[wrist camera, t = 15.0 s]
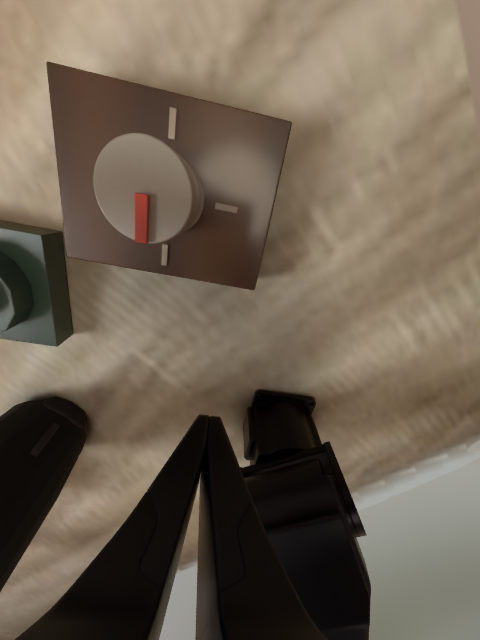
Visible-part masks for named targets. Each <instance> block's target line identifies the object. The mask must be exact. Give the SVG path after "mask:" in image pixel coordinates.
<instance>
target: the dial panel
mask: <svg viewBox="0 0 480 640" xmlns="http://www.w3.org/2000/svg"><path fill="white" fill-rule="evenodd" d="M47 73H48V82H49V92H50V101H51V110H52V120H53V129H54V139H55V148H56V158H57V167H58V176H59V186H60V195H61V205H62V214H63V224H64V233H65V242H66V252H67V257H69V258H75V259H81V260H86V261H92V262H98V263H103V264H109V265H114V266H120V267H126V268H131V269H137V270H143V271H148V272H154V273H159V274H165V275H171V276H176V277H182V278H188V279H193V280H199V281H205V282H210V283H216V284H221V285H227V286H233V287H238V288H244V289H250V290H255V286H256V282H257V277H258V273H259V268H260V264H261V260H262V255H263V251H264V246H265V242H266V237H267V233H268V228H269V224H270V219H271V215H272V210H273V206H274V202H275V197H276V193H277V188H278V184H279V179H280V175H281V170H282V166H283V161H284V157H285V153H286V148H287V144H288V139H289V135H290V130H291V126H292V122H291V121H286V120H282V119H278V118H274V117H270V116H266V115H262V114H258V113H254V112H250V111H246V110H242V109H238V108H234V107H230V106H226V105H222V104H218V103H214V102H210V101H205V100H201V99H197V98H193V97H189V96H185V95H181V94H177V93H173V92H169V91H165V90H161V89H157V88H153V87H149V86H145V85H141V84H137V83H133V82H128V81H124V80H120V79H116V78H112V77H108V76H104V75H100V74H96V73H92V72H88V71H84V70H80V69H76V68H72V67H68V66H64V65H60V64H56V63H51V62H47ZM129 133H142V134H147V135H150V136H153V137H155V138H157V139H159V140H161V141H163V142H164V143H166V144H167V145H168V146H169V147H171V148H172V149H173V150H174V151H175V152H176V153H177V154H179V155H180V156H181V157H182V158H183V159H184V160H185V161H187V162H188V163H189V164H190V165H191V166H192V167H193V169H194V170H195V171H196V173H197V174H198V176H199V178H200V180H201V183H202V186H203V191H204V206H203V210H202V213H201V215H200V218H199V219H198V221H197V222H196V223H195V224H194V225H193V226H192V227H191V228H190V229H188V230H186V231H185V232H183V233H181V234H179V235H177V236H175V237H173V238H171V239H169V240H167V241H164V242H160V243H147V244H144V243H139V242H135V240H133V239H130V238H129V237H127V236H125V235H123V234H122V233H120V232H119V231H118V230H117V229H116V228H115V227H114V226H113V225H112V224H111V223H110V222H109V221H108V220H107V218H106V217H105V215H104V214H103V212H102V210H101V208H100V206H99V204H98V202H97V199H96V195H95V191H94V184H93V175H94V168H95V164H96V161H97V158H98V156H99V154H100V153H101V151H102V149H103V148H104V147H105V146H106V145H107V144H108V143H109V142H110V141H111V140H113V139H115V138H116V137H118V136H121V135H124V134H129Z"/></svg>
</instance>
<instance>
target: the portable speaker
mask: <svg viewBox="0 0 480 640" xmlns="http://www.w3.org/2000/svg"><path fill="white" fill-rule="evenodd" d="M86 420H87V418H86V415H85V412H84V411H83V410H81V409H80V408H79V407H77V406H76V405H74V404H73V403H72V402H70V401H67V400H64V399H61V398H58V397H54V398H51V399H48V400H45V401H27V402H24V403H21V404H18V405H15V406H14V407H12V408H11V409H10V410H8V411H7V412H6V413H4V414H3V415H2V416H0V592H1V590H2V588H3V587H4V585H5V583H6V582H7V580H8V578H9V577H10V575H11V574H12V572H13V570H14V569H15V567H16V565H17V564H18V562H19V560H20V559H21V557H22V556H23V554H24V552H25V551H26V549H27V547H28V546H29V544H30V542H31V541H32V539H33V538H34V536H35V534H36V533H37V531H38V529H39V528H40V526H41V524H42V523H43V521H44V519H45V518H46V516H47V515H48V513H49V511H50V510H51V508H52V506H53V505H54V503H55V501H56V500H57V498H58V496H59V494H60V492H61V490H62V488H63V486H64V484H65V482H66V480H67V479H68V477H69V475H70V473H71V471H72V469H73V467H74V465H75V463H76V461H77V459H78V457H79V455H80V453H81V451H82V449H83V447H84V444H85V440H86V430H85V426H86Z"/></svg>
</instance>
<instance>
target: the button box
mask: <svg viewBox="0 0 480 640" xmlns="http://www.w3.org/2000/svg"><path fill="white" fill-rule="evenodd" d="M71 335H73V330H72V321H71V312H70V303H69V294H68V285H67V276H66V266H65V257H64V248H63V239H62V232H60V231H54V230H49V229H44V228H38V227H33V226H28V225H22V224H17V223H12V222H6V221H1V220H0V338H1V339H8V340H15V341H22V342H29V343H36V344H43V345H50V346H59V345H60V344H61V343H62V342H64V341H65V340H66V339H68V338H69V337H70V336H71Z"/></svg>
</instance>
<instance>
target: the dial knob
mask: <svg viewBox="0 0 480 640" xmlns="http://www.w3.org/2000/svg"><path fill="white" fill-rule="evenodd" d="M93 184H94V191H95V195H96V199H97V202H98V204H99V206H100V208H101V210H102V212H103V214H104V215H105V217H106V218H107V220H108V221H109V222H110V223H111V224H112V225H113V226H114V227H115V228H116V229H117V230H118V231H119V232H120V233H122V234H123V235H125V236H127V237H129V238H130V239H133V240H135V242H139V243H144V244H147V243H160V242H164V241H167V240H169V239H171V238H173V237H175V236H177V235H179V234H181V233H183V232H185V231H186V230H188V229H190V228H191V227H192V226H193V225H194V224H195V223H196V222H197V221H198V219H199V218H200V215H201V213H202V210H203V206H204V191H203V186H202V183H201V180H200V178H199V176H198V174H197V173H196V171H195V170H194V169H193V167H192V166H191V165H190V164H189V163H188V162H187V161H185V160H184V159H183V158H182V157H181V156H180V155H179V154H177V153H176V152H175V151H174V150H173V149H172V148H171V147H169V146H168V145H167V144H166V143H164V142H163V141H161V140H159V139H157V138H155V137H153V136H150V135H147V134H142V133H129V134H124V135H121V136H118V137H116V138H115V139H113V140H111V141H110V142H109V143H108V144H107V145H106V146H105V147H104V148H103V149H102V151H101V153H100V154H99V156H98V158H97V161H96V164H95V168H94V175H93Z"/></svg>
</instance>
